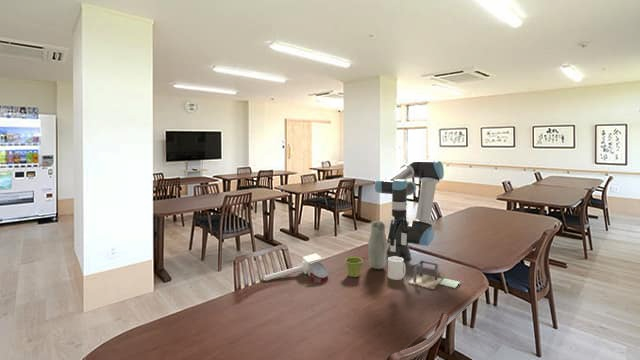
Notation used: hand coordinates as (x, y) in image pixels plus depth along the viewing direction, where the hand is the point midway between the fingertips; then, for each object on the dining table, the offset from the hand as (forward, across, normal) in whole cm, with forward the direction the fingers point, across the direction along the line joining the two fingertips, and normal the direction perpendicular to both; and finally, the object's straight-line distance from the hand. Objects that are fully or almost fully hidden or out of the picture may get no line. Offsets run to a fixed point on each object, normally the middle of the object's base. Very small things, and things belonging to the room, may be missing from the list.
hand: (398, 248), depth 181 cm
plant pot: (+17, -11, +21) cm, 29 cm away
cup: (+17, 0, 0) cm, 17 cm away
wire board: (+17, +3, -14) cm, 22 cm away
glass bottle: (+17, +6, +16) cm, 24 cm away
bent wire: (+16, +3, -14) cm, 21 cm away
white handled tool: (+17, -32, +48) cm, 60 cm away
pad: (+17, +8, -25) cm, 31 cm away
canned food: (+17, -27, +33) cm, 46 cm away
